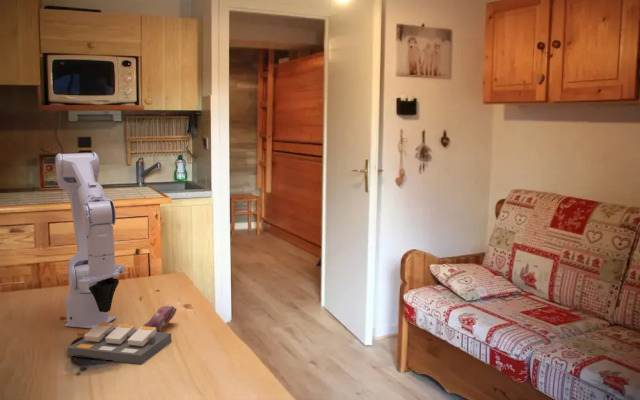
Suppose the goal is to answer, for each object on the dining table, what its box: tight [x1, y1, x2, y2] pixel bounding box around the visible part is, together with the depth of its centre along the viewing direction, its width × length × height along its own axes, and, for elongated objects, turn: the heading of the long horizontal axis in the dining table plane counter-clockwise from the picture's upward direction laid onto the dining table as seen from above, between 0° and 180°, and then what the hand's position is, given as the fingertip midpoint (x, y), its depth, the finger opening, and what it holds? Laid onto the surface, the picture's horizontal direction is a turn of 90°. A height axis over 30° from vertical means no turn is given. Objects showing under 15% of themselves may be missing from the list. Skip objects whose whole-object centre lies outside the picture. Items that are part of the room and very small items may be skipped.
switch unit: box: [66, 327, 172, 365], centre depth 129 cm, size 18×13×4 cm
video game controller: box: [142, 304, 177, 332], centre depth 141 cm, size 10×5×7 cm, turn 169°
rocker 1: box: [83, 322, 115, 342], centre depth 130 cm, size 4×6×1 cm, turn 166°
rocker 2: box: [105, 323, 136, 344], centre depth 129 cm, size 4×6×1 cm, turn 166°
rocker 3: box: [128, 325, 157, 346], centre depth 127 cm, size 4×6×1 cm, turn 166°
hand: (104, 311), depth 132 cm, fingers closed
